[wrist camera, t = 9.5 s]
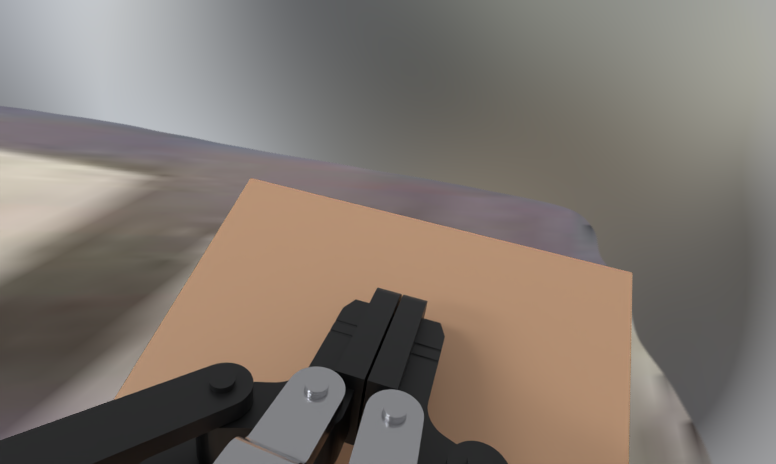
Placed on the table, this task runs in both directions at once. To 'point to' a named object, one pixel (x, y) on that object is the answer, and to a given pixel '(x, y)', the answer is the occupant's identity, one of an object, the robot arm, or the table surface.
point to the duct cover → (445, 305)
